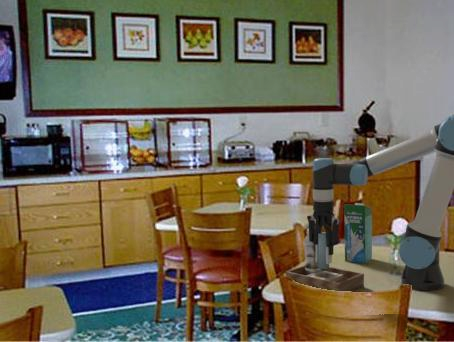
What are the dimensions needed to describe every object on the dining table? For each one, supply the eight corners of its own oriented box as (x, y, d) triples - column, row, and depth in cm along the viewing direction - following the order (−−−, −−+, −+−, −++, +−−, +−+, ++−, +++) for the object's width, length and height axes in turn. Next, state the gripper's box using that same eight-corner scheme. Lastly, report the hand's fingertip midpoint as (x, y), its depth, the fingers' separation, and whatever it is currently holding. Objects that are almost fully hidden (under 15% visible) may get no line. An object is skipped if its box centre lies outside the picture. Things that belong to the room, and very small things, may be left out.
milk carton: (372, 258, 254) (371, 202, 251) (365, 263, 246) (364, 205, 244) (352, 256, 259) (351, 200, 256) (344, 261, 251) (344, 204, 249)
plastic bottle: (316, 282, 222) (314, 231, 219) (301, 279, 226) (299, 229, 224) (324, 278, 226) (323, 228, 224) (310, 275, 231) (308, 226, 229)
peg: (331, 267, 217) (331, 233, 216) (325, 269, 214) (324, 235, 213) (322, 265, 220) (322, 231, 218) (316, 267, 217) (315, 233, 216)
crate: (363, 286, 215) (363, 273, 214) (339, 297, 204) (339, 283, 203) (311, 275, 232) (310, 263, 231) (285, 284, 220) (285, 271, 220)
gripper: (348, 200, 211) (348, 263, 213) (310, 196, 223) (311, 256, 225) (336, 203, 206) (337, 268, 208) (298, 199, 218) (299, 260, 220)
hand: (323, 262), depth 217 cm, fingers closed on peg, 4 cm apart
